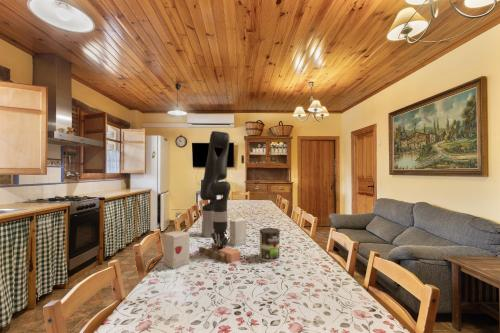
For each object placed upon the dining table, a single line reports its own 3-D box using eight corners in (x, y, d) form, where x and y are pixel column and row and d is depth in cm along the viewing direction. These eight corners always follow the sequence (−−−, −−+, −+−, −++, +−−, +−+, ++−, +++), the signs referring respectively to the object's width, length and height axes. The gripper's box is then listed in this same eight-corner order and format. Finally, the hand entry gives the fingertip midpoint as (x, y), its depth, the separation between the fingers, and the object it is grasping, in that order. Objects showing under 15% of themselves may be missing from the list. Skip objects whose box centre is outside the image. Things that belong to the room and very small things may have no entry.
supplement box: (173, 269, 117) (173, 236, 117) (162, 264, 123) (162, 233, 123) (190, 264, 124) (190, 232, 124) (179, 259, 130) (179, 229, 130)
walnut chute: (198, 252, 140) (198, 245, 140) (214, 248, 147) (214, 241, 147) (222, 262, 126) (222, 254, 126) (238, 257, 133) (238, 249, 133)
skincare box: (240, 241, 160) (240, 217, 160) (246, 244, 155) (246, 219, 155) (229, 244, 155) (229, 219, 155) (235, 247, 150) (235, 221, 150)
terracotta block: (218, 257, 132) (218, 249, 132) (227, 254, 136) (227, 247, 136) (231, 262, 125) (231, 254, 125) (240, 259, 129) (240, 251, 129)
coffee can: (283, 259, 130) (283, 231, 130) (266, 262, 126) (266, 233, 126) (272, 253, 140) (272, 227, 140) (255, 256, 135) (255, 229, 135)
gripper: (206, 218, 137) (206, 251, 137) (222, 222, 128) (222, 257, 128) (217, 217, 142) (217, 248, 142) (234, 220, 133) (233, 254, 133)
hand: (220, 252), depth 135 cm, fingers closed
